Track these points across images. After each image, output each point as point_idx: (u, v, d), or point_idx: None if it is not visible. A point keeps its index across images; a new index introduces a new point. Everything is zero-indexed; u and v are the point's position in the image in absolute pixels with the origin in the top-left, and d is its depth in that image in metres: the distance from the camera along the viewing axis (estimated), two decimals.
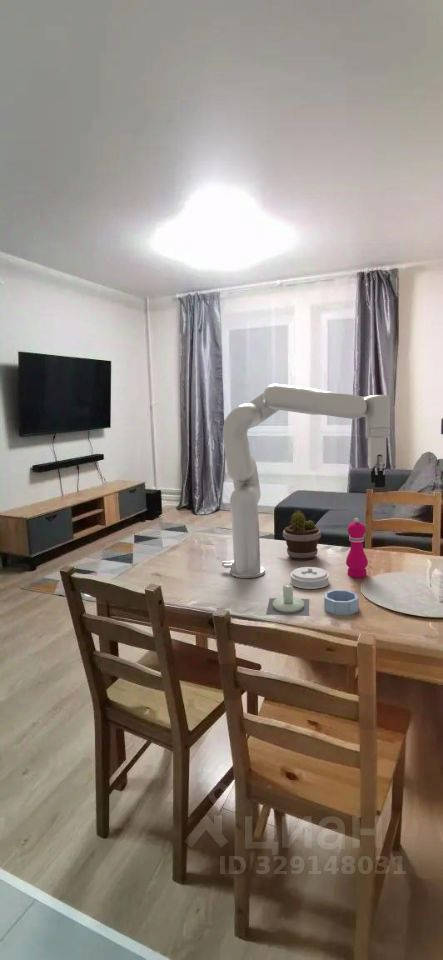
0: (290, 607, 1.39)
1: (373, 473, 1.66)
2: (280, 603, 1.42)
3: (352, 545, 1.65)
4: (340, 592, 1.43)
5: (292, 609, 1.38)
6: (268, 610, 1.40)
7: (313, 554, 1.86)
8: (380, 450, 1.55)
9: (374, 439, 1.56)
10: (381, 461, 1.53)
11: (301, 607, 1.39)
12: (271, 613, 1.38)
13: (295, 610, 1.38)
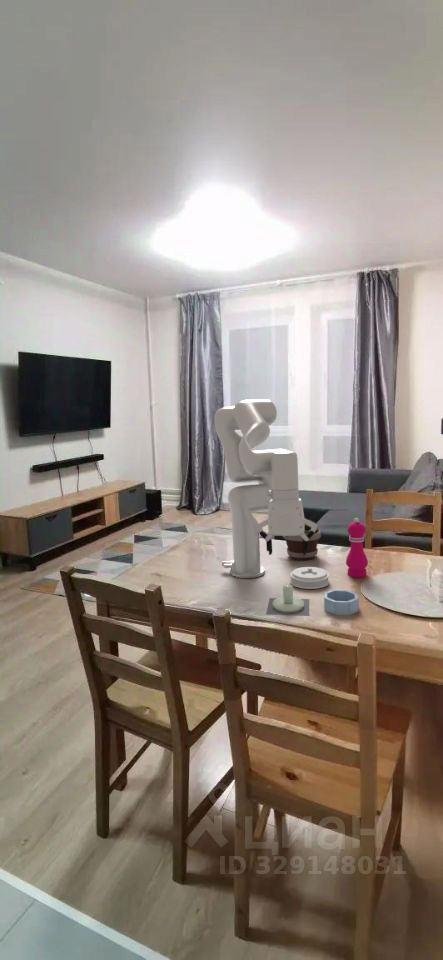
0: (290, 607, 1.39)
1: (271, 543, 1.39)
2: (280, 603, 1.42)
3: (352, 545, 1.65)
4: (340, 592, 1.43)
5: (292, 609, 1.38)
6: (268, 610, 1.40)
7: (313, 554, 1.86)
8: None
9: (300, 501, 1.36)
10: (314, 523, 1.37)
11: (301, 607, 1.39)
12: (271, 613, 1.38)
13: (295, 610, 1.38)
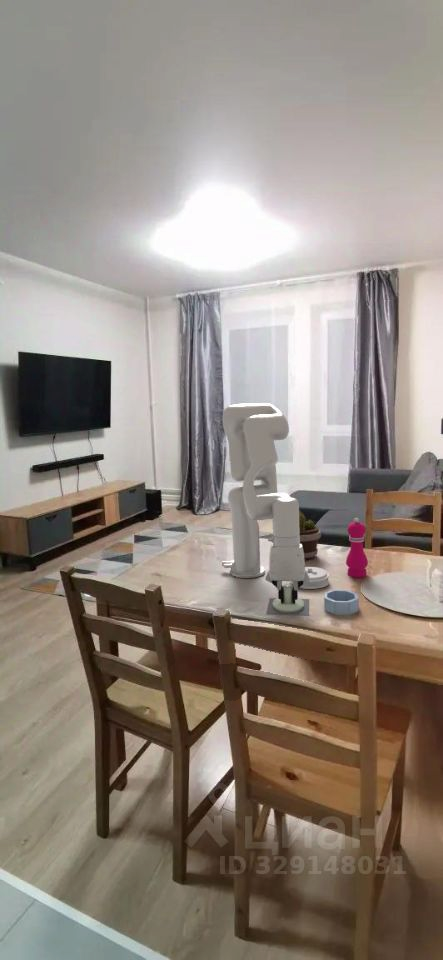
0: (290, 607, 1.39)
1: None
2: (280, 603, 1.42)
3: (352, 545, 1.65)
4: (340, 592, 1.43)
5: (292, 609, 1.38)
6: (268, 610, 1.40)
7: (313, 554, 1.86)
8: None
9: (301, 548, 1.38)
10: None
11: (301, 607, 1.39)
12: (271, 613, 1.38)
13: (295, 610, 1.38)
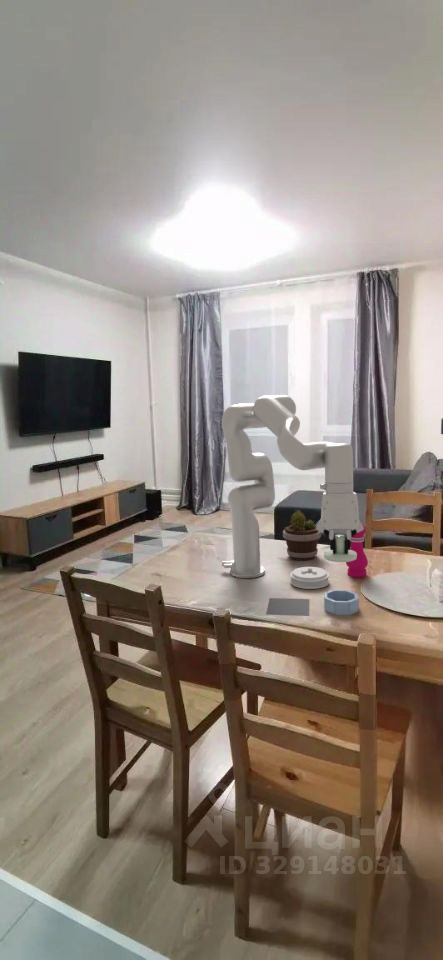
0: (344, 556, 1.34)
1: None
2: (332, 553, 1.37)
3: (352, 545, 1.65)
4: (340, 592, 1.43)
5: (346, 558, 1.33)
6: (268, 610, 1.40)
7: (313, 554, 1.86)
8: None
9: (355, 494, 1.33)
10: (362, 525, 1.35)
11: (355, 557, 1.34)
12: (271, 613, 1.38)
13: (349, 559, 1.33)
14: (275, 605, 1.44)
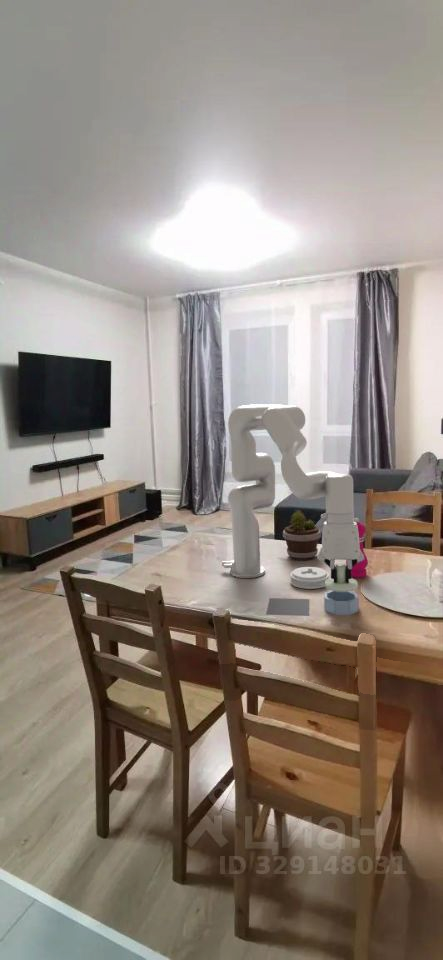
0: (345, 586, 1.35)
1: None
2: (333, 582, 1.38)
3: None
4: (340, 592, 1.43)
5: (347, 588, 1.34)
6: (268, 610, 1.40)
7: (313, 554, 1.86)
8: None
9: (356, 525, 1.34)
10: None
11: (355, 586, 1.35)
12: (271, 613, 1.38)
13: (350, 589, 1.34)
14: (275, 605, 1.44)
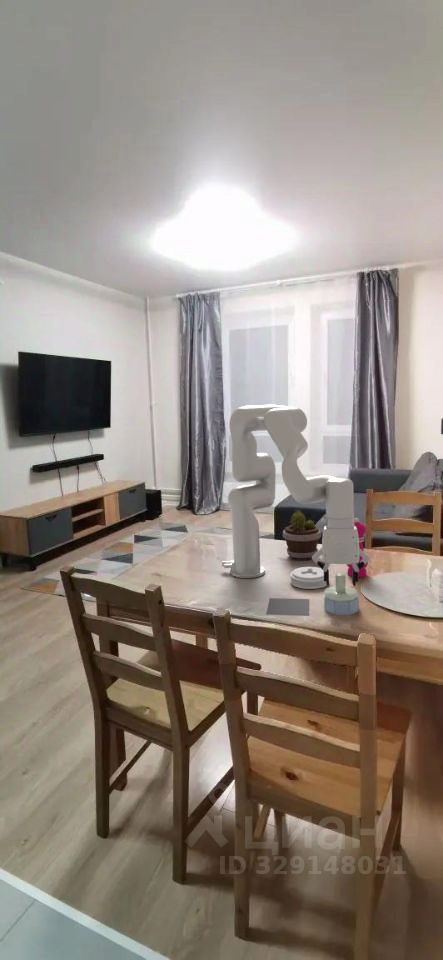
0: (344, 596, 1.35)
1: (328, 573, 1.38)
2: (333, 592, 1.39)
3: None
4: None
5: (346, 598, 1.34)
6: (268, 610, 1.40)
7: (313, 554, 1.86)
8: None
9: (356, 530, 1.34)
10: (367, 555, 1.36)
11: (355, 596, 1.36)
12: (271, 613, 1.38)
13: (349, 599, 1.35)
14: (275, 605, 1.44)
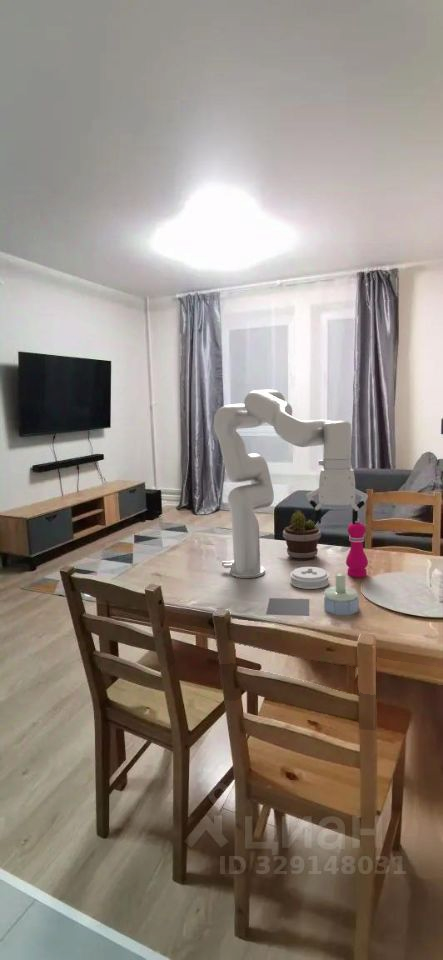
0: (344, 596, 1.35)
1: (320, 512, 1.41)
2: (333, 592, 1.39)
3: (352, 545, 1.65)
4: None
5: (346, 598, 1.34)
6: (268, 610, 1.40)
7: (313, 554, 1.86)
8: None
9: (353, 471, 1.36)
10: (365, 494, 1.38)
11: (355, 596, 1.36)
12: (271, 613, 1.38)
13: (349, 599, 1.35)
14: (275, 605, 1.44)
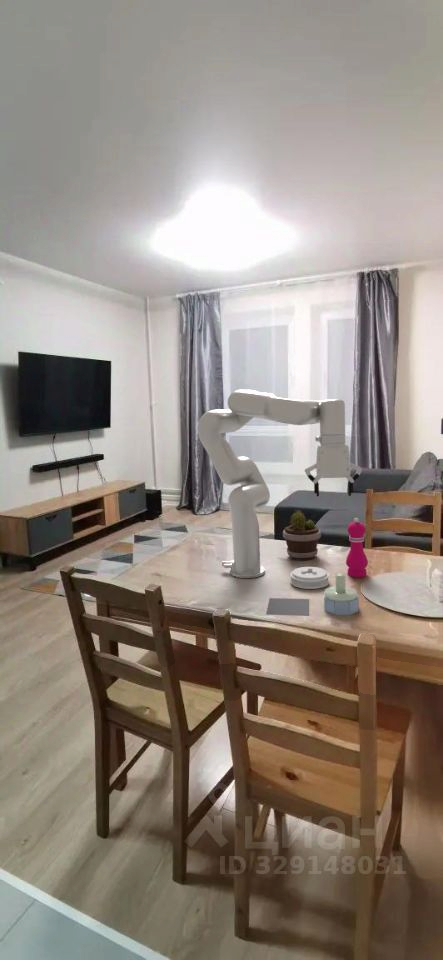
0: (344, 596, 1.35)
1: (318, 485, 1.51)
2: (333, 592, 1.39)
3: (352, 545, 1.65)
4: None
5: (346, 598, 1.34)
6: (268, 610, 1.40)
7: (313, 554, 1.86)
8: None
9: (347, 445, 1.47)
10: (359, 467, 1.49)
11: (355, 596, 1.36)
12: (271, 613, 1.38)
13: (349, 599, 1.35)
14: (275, 605, 1.44)
